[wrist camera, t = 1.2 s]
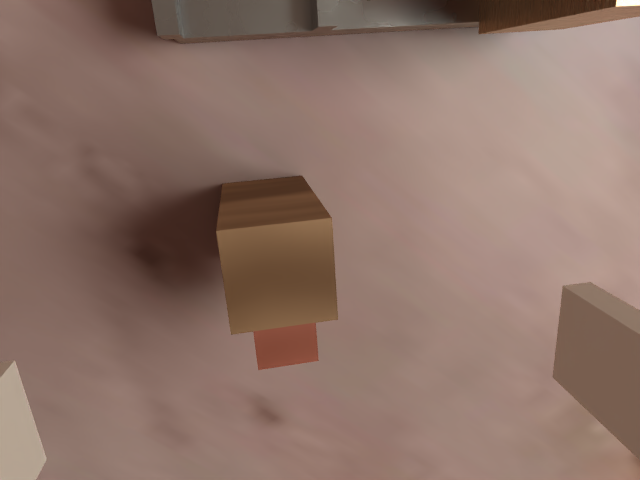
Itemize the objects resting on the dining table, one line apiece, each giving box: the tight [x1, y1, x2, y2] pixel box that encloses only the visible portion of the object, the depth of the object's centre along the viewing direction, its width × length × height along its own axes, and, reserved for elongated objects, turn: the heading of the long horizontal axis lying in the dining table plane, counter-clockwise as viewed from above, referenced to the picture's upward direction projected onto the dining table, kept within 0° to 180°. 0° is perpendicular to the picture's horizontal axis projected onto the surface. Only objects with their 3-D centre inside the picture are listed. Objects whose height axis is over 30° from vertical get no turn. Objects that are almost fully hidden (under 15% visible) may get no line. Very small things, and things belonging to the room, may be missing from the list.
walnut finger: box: [216, 176, 338, 370], centre depth 21 cm, size 6×4×8 cm, turn 4°
